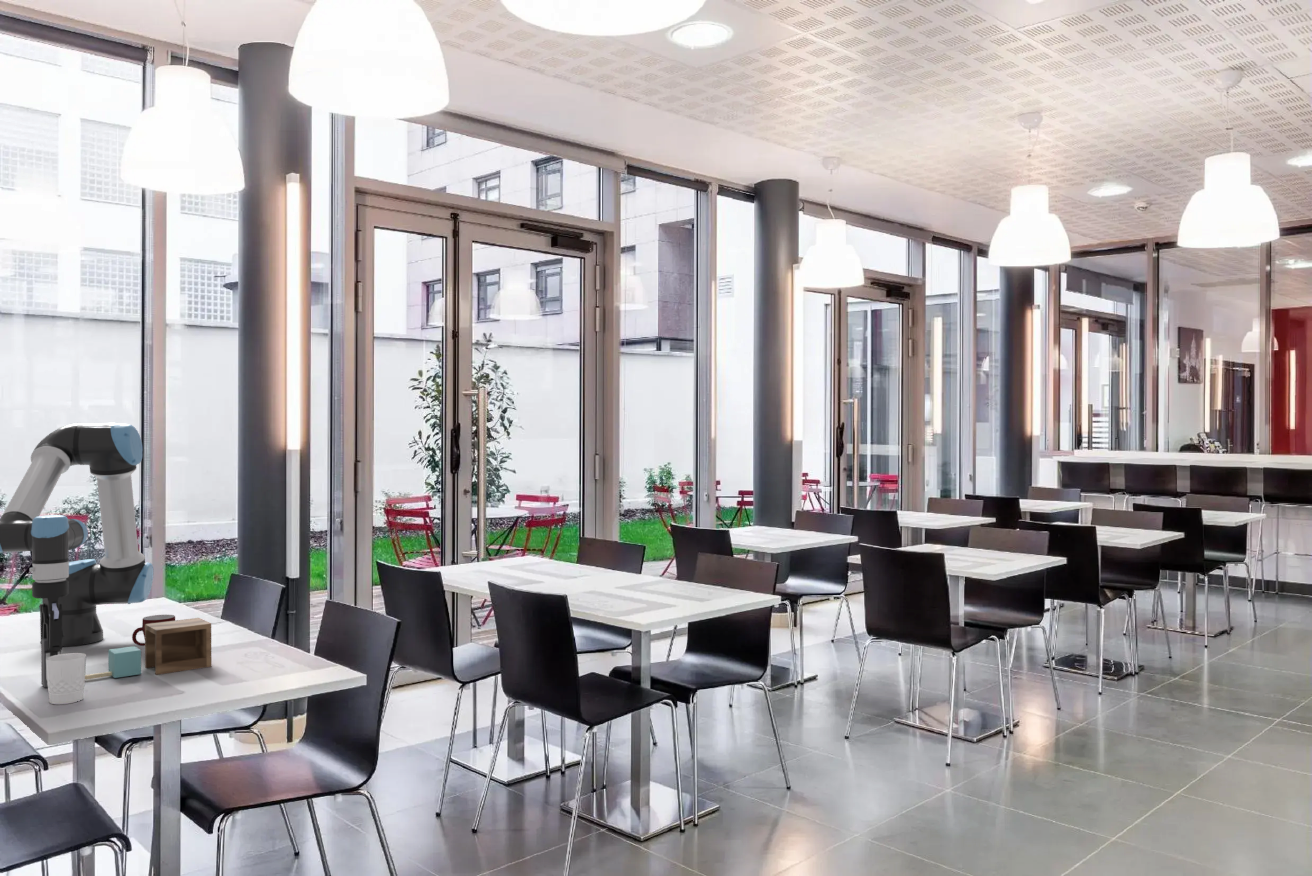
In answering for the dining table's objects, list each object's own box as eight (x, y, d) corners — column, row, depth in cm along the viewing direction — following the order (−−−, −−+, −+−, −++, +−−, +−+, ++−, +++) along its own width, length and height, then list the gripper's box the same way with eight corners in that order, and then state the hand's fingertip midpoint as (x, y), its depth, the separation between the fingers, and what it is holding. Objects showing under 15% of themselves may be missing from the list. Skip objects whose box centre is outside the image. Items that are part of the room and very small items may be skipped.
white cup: (57, 696, 230) (57, 653, 230) (92, 695, 231) (92, 652, 230) (39, 706, 222) (38, 661, 222) (76, 705, 223) (75, 660, 223)
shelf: (145, 667, 257) (144, 624, 257) (198, 659, 266) (198, 617, 266) (156, 674, 250) (156, 630, 250) (211, 666, 258) (211, 623, 258)
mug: (132, 659, 266) (132, 622, 266) (132, 653, 274) (131, 617, 273) (176, 654, 272) (176, 618, 271) (174, 649, 279) (174, 613, 279)
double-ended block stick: (40, 683, 240) (40, 638, 240) (134, 669, 254) (134, 626, 254) (45, 688, 236) (45, 642, 236) (141, 674, 249) (140, 630, 249)
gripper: (25, 577, 243) (26, 673, 243) (39, 585, 230) (39, 686, 230) (61, 574, 247) (61, 668, 248) (76, 582, 235) (76, 681, 235)
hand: (51, 677), depth 239 cm, fingers closed on double-ended block stick, 3 cm apart
